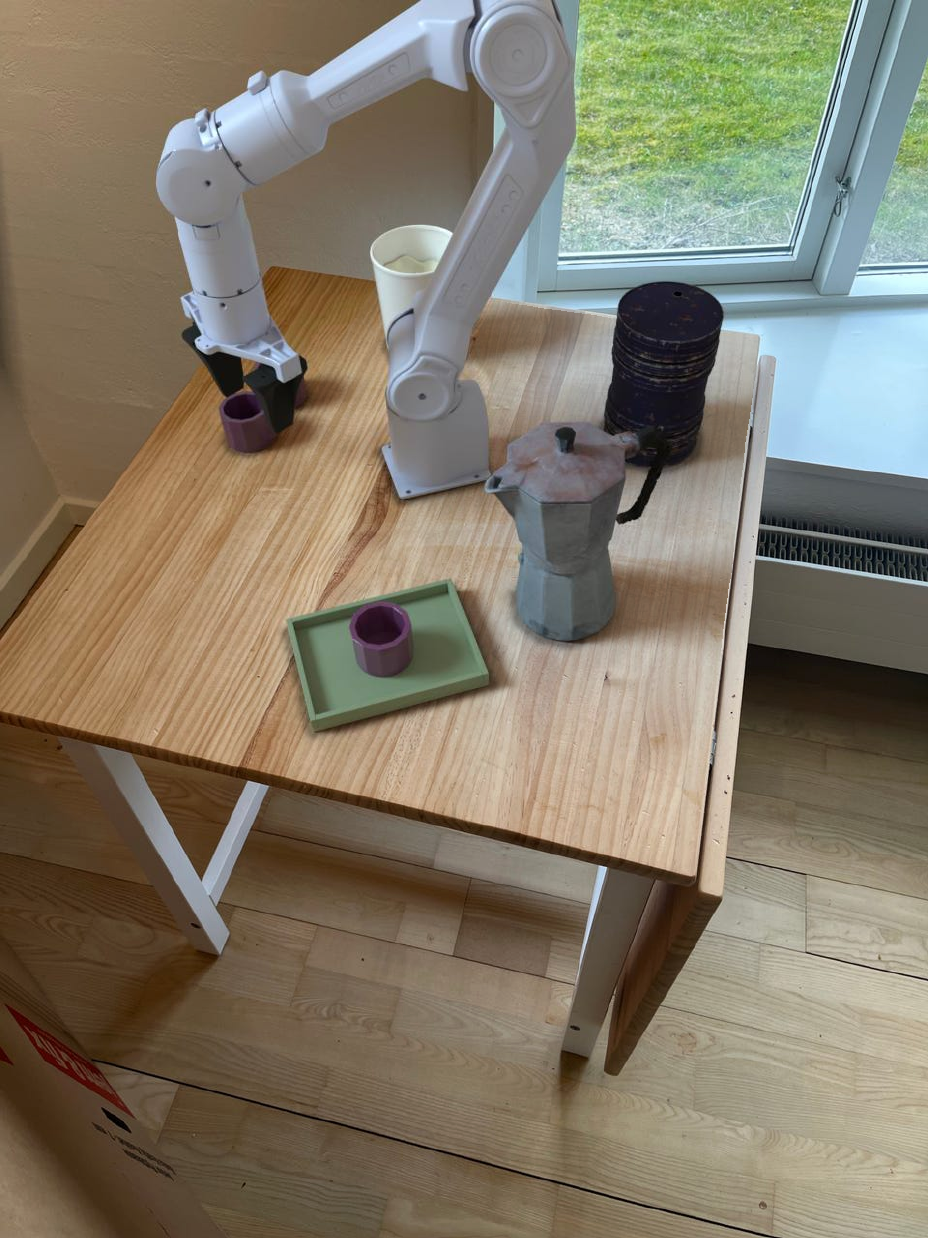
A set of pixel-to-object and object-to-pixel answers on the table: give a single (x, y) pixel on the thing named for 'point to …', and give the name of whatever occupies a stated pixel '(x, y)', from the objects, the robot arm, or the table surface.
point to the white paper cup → (405, 265)
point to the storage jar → (662, 364)
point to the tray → (351, 694)
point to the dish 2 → (382, 639)
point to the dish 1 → (245, 422)
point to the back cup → (301, 390)
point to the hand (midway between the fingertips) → (257, 408)
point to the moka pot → (570, 519)
